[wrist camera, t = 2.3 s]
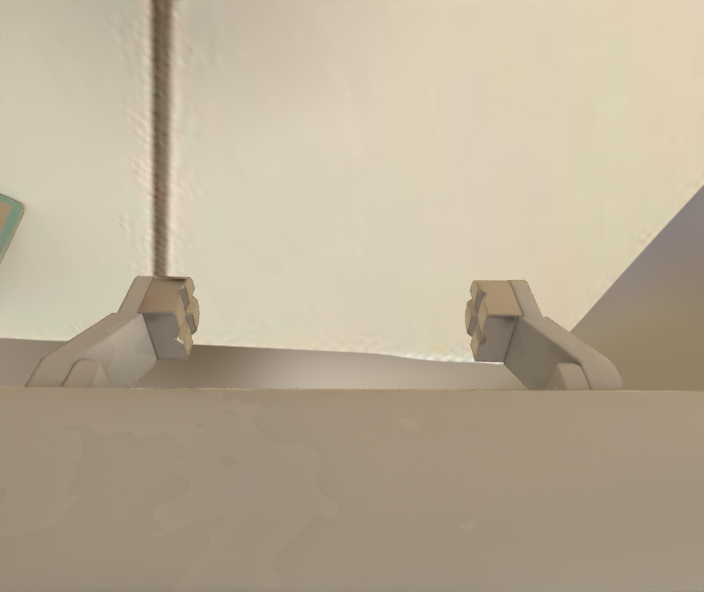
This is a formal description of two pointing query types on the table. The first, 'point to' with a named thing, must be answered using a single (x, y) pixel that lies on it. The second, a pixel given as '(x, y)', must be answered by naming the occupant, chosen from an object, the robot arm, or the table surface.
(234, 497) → the robot arm
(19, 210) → the device
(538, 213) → the table surface
